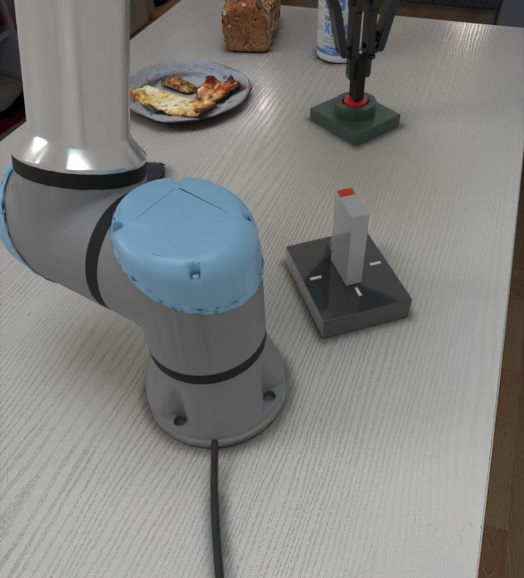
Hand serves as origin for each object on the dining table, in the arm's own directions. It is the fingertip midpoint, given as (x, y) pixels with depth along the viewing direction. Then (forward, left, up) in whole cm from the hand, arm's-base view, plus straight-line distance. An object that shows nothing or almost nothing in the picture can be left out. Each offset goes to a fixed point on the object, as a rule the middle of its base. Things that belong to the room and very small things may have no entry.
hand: (356, 97), depth 92 cm
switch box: (0, 0, -5) cm, 5 cm away
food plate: (+20, +26, -5) cm, 33 cm away
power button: (0, 0, -2) cm, 2 cm away
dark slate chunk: (-3, +46, -5) cm, 46 cm away
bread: (+44, +6, -5) cm, 44 cm away
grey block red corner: (-38, +17, -1) cm, 42 cm away
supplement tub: (+27, -8, -5) cm, 28 cm away
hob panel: (-38, +17, -5) cm, 42 cm away
